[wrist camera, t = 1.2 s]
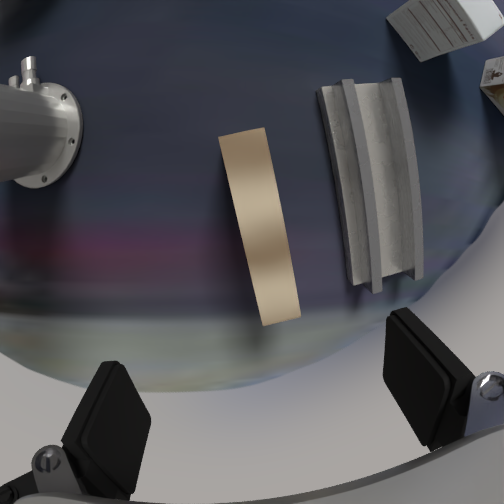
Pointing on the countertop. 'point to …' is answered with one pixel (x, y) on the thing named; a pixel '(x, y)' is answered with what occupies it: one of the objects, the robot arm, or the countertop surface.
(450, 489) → the robot arm
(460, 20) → the supplement box
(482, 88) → the coffee box
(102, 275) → the countertop surface
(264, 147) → the door panel
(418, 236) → the door track
